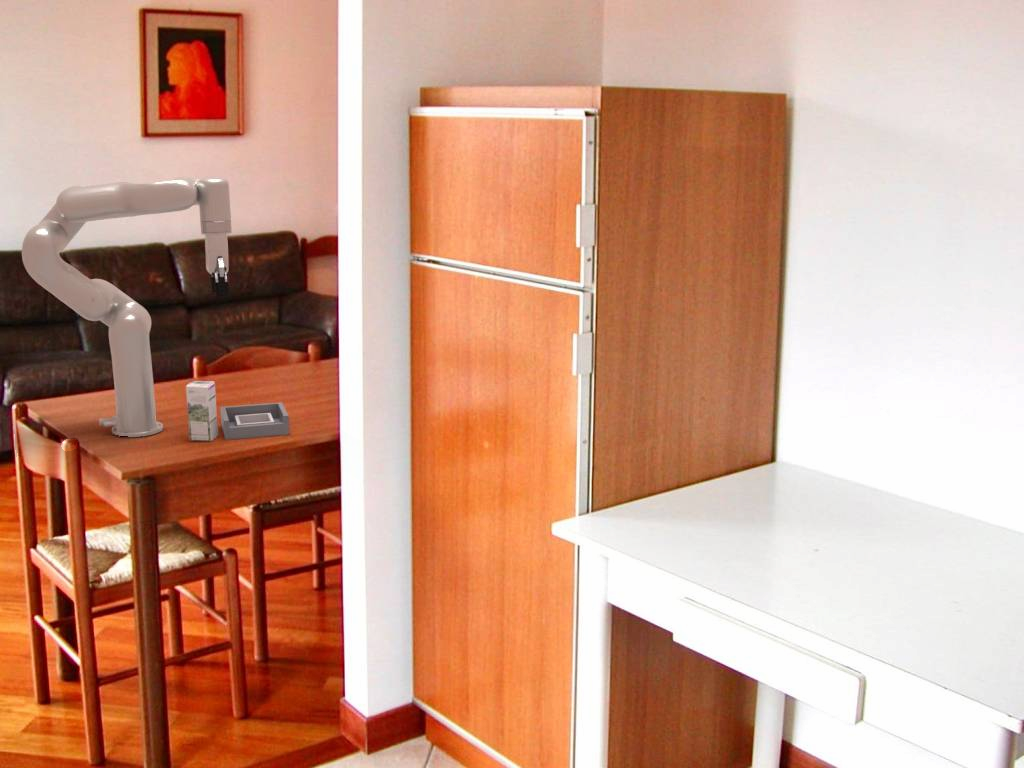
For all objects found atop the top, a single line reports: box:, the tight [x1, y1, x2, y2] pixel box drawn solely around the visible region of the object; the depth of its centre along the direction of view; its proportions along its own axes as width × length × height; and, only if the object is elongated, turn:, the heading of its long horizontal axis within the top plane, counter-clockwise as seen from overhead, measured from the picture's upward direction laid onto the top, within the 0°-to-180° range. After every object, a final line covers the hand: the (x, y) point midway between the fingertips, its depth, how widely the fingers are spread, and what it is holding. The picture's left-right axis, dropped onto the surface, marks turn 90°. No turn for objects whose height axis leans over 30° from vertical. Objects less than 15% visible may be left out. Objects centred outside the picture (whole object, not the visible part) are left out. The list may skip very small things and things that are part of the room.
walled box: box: [219, 401, 290, 441], centre depth 305 cm, size 16×14×5 cm
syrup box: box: [185, 380, 219, 442], centre depth 296 cm, size 6×6×14 cm
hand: (220, 294), depth 301 cm, fingers open, 9 cm apart
